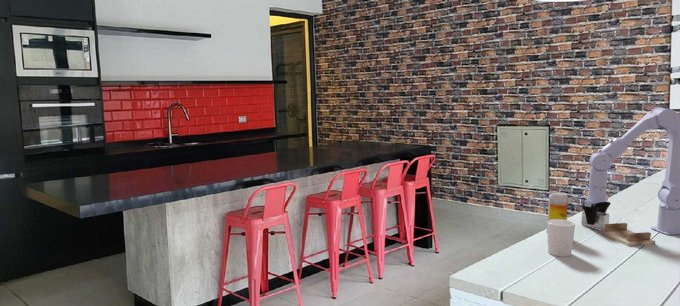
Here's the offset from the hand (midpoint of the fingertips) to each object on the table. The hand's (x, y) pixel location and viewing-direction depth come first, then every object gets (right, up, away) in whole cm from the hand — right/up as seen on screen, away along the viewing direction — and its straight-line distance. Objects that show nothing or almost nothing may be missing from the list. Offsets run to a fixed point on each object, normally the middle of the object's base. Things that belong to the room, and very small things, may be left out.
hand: (595, 222), depth 193 cm
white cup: (-24, -6, -27) cm, 37 cm away
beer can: (-18, -4, -10) cm, 21 cm away
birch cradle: (+4, -4, -13) cm, 14 cm away
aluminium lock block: (0, -2, 0) cm, 2 cm away
